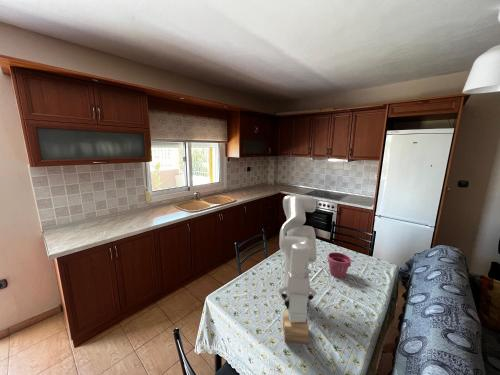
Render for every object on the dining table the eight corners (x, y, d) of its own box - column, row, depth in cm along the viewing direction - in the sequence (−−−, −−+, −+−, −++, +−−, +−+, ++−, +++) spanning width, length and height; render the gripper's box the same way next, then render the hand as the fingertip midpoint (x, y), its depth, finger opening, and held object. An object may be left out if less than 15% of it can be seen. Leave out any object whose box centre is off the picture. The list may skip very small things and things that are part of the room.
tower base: (282, 323, 100) (283, 316, 100) (303, 325, 100) (304, 318, 99) (284, 342, 91) (285, 335, 90) (307, 344, 90) (308, 336, 89)
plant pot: (344, 269, 147) (346, 252, 144) (352, 281, 133) (354, 263, 130) (324, 267, 148) (325, 251, 146) (329, 280, 134) (331, 262, 132)
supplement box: (301, 309, 97) (303, 285, 95) (306, 322, 90) (308, 297, 88) (285, 309, 97) (287, 285, 95) (289, 322, 90) (290, 297, 88)
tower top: (283, 316, 100) (284, 308, 99) (305, 318, 99) (305, 311, 98) (284, 334, 90) (284, 326, 90) (308, 337, 89) (308, 329, 88)
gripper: (316, 267, 93) (313, 302, 96) (277, 266, 94) (276, 300, 97) (321, 278, 86) (318, 315, 89) (279, 276, 86) (277, 312, 90)
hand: (296, 307), depth 93 cm, fingers closed on supplement box, 7 cm apart
